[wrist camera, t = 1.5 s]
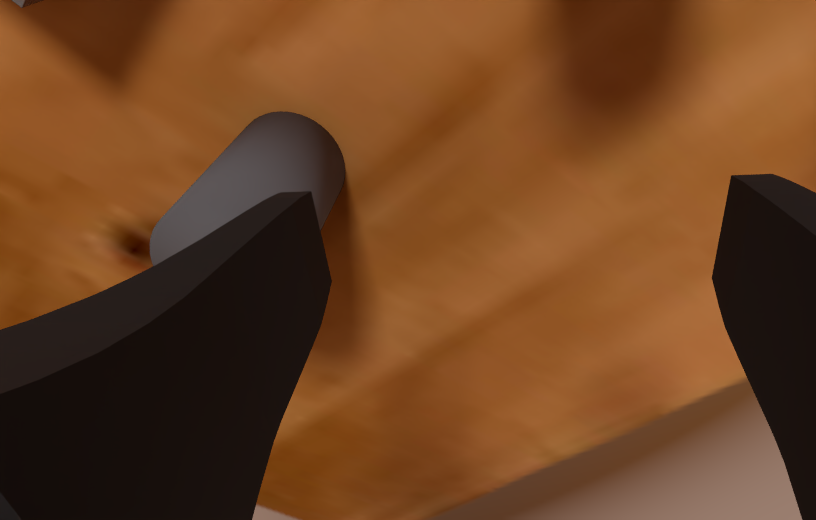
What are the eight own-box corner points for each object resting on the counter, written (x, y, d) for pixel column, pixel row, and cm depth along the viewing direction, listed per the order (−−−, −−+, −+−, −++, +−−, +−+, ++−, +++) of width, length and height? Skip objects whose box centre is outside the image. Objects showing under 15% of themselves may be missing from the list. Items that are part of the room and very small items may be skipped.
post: (367, 163, 22) (318, 268, 17) (305, 231, 24) (244, 344, 19) (274, 88, 21) (190, 174, 15) (218, 166, 23) (126, 266, 17)
